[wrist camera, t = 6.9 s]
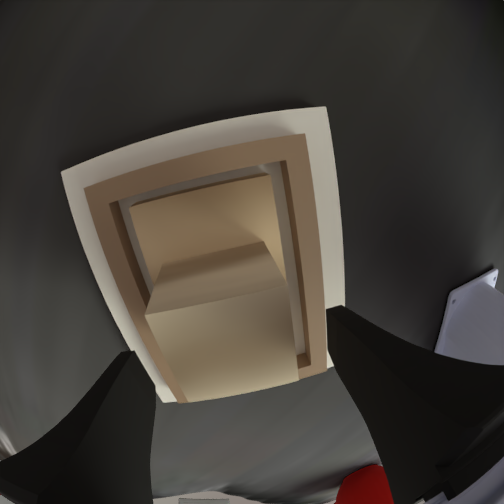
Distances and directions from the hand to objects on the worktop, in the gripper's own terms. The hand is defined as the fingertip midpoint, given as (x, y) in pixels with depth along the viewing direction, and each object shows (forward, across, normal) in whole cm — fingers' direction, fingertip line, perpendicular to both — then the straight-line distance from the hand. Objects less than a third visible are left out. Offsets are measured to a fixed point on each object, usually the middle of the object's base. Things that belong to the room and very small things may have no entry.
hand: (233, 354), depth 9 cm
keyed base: (+6, 0, 0) cm, 6 cm away
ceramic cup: (+6, -11, +45) cm, 47 cm away
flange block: (+5, 0, 0) cm, 5 cm away
